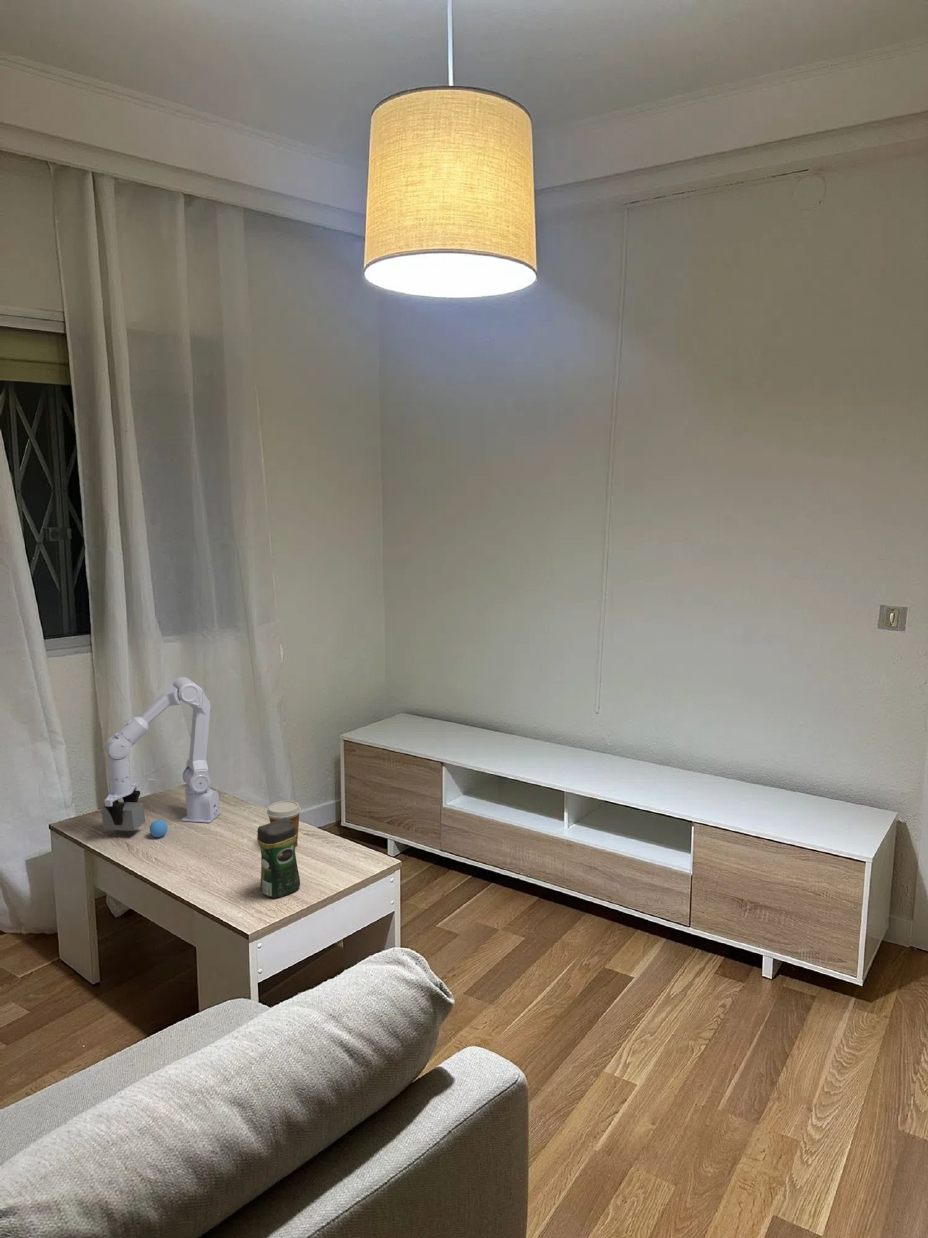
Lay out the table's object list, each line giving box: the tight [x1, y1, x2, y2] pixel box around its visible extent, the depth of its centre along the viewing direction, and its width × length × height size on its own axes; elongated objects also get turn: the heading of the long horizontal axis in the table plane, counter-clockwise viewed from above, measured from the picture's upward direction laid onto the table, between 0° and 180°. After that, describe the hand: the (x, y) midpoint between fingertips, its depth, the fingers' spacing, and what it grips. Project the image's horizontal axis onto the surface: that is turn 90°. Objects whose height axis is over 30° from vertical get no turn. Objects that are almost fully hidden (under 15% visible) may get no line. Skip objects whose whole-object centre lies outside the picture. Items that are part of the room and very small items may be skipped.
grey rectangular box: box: [100, 801, 146, 831], centre depth 265 cm, size 10×6×6 cm, turn 78°
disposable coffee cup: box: [266, 800, 302, 848], centre depth 254 cm, size 10×10×12 cm
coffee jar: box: [256, 818, 301, 899], centre depth 228 cm, size 10×8×19 cm
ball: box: [149, 819, 168, 838], centre depth 263 cm, size 5×5×5 cm
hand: (124, 820), depth 265 cm, fingers closed on grey rectangular box, 6 cm apart
